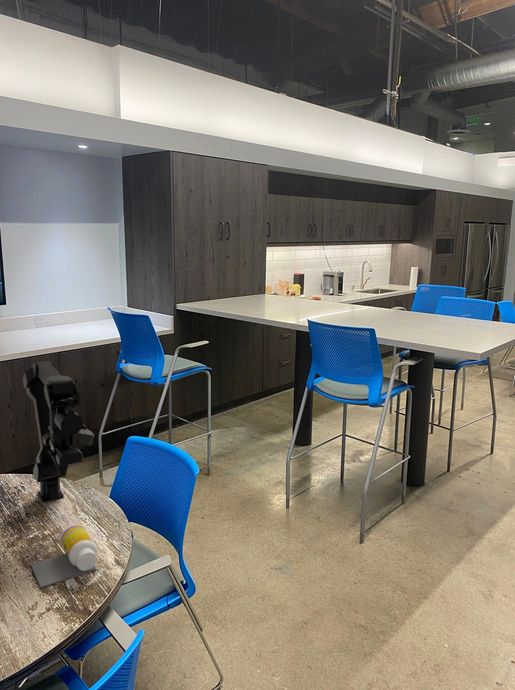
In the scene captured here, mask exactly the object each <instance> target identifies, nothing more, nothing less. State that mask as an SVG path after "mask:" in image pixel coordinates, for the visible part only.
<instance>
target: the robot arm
mask: <svg viewBox="0 0 515 690" xmlns="http://www.w3.org/2000/svg"><path fill="white" fill-rule="evenodd" d="M22 383H23V384H22V385H23V389H25V392H26V395H27V396H28V397H29V398H30V400H31V401H32V402H33V406H34V414H35V420H36V426H37V433H38V441H39V447H40V449H39V451H38V453H37V456H36V458H35V461H36V462H35V465H34V467H33V469H32V471H33V478H34V480H35V481H36V483H37V484H38V483H39V486H40V487H39V489H40V490H39V491H37V492H36V493H37V496H38V497H39V500H40V501H41V502H42V503H45V502H49V501H52V500H57V499H61V498H65V494H64V493H63V491H62V490H61V478H66V477H67V472H68V468H69V465H72V464H77V463H82V462H83V461H84V454H83V452H82V451H81V450H80V449H79V448H77V445H78V444H81V445H86V446H91V445H92V443H93V439H94V437H95V433H93V431H91V430H89V429H88V428H87V427H86V425H85V424H84V420H83V418H82V416H80V415H79V414H78V413H77V412H76V409H75V407H77V406H78V407H79V406H80V405H81V403H80V401H81V396H80V392H79V388H78V385H77V384H76V382H75V380H73V378H72V377H70V376H68V375H61V374H60V373H59V371H57V370H56V368H54V366H53V362H51V361H39V362H38V361H37V362H35V363H33V365H32V367H30V368H29V369H28V370H26V371H25V372H24V374H23V378H22Z"/></svg>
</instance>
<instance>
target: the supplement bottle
mask: <svg viewBox="0 0 515 690" xmlns="http://www.w3.org/2000/svg"><path fill="white" fill-rule="evenodd" d="M60 537H61V538H60V542H61V545H62V547H63V549H64V552H65V554H67V556H68V558H69V560H70V562H71V563H72V564H73V565H74V566H76V567H78V568H79V569H80V570H82V571H86V570H89V569H91V568H92V567H94V565H95V566H96V563H97V560H98V558H97V552H98V548H97V546H96V544H95V543H94V540H93V539H92V537H91V535H90V533H89V531H88V529H87V528H86V527H85V526H84V525H82V524H79V523H76V524H71V525H70V526H68V527H66V529H64V530H63V532H62V534H61V536H60Z"/></svg>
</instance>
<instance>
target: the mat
mask: <svg viewBox="0 0 515 690" xmlns="http://www.w3.org/2000/svg"><path fill="white" fill-rule="evenodd" d="M30 567H31V570H32V572H33V574H34V576H35V579H36V582H37V583H38V586H39V587H40V589H43V588H46V587H49V586H51V585H55V584H58V583H59V584H60V583H61V582H64V581H68V580H71V579H74V578H76V577H80V576H82V575H85V574H88V573H92V572H95V571H97V570H98V568H97V566H96V564H95V565H94V567H92V568H91V569H89V570H86V571H82V570H80V569H79V568H78V567H76V566H74V565H73V564H72V563H71V562H70V560H69V558H68V556H67V554H66V553H63V554H60V555H55V556H53V557H48V558H46V559H42V560H39V561H36V562H32V563H30Z"/></svg>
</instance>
